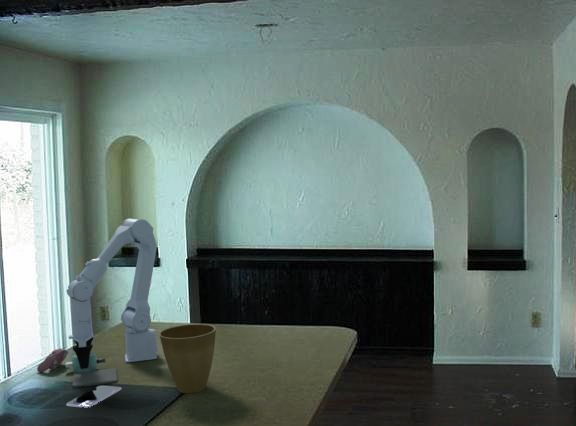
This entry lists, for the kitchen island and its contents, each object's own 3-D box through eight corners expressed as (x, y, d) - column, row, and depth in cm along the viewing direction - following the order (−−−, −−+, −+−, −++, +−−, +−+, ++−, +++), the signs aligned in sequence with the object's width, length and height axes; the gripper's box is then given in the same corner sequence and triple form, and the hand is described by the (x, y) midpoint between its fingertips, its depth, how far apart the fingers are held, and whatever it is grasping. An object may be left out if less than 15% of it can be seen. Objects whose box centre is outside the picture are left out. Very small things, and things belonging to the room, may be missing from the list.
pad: (116, 369, 198) (116, 368, 198) (117, 382, 186) (116, 380, 186) (74, 375, 194) (74, 373, 194) (72, 387, 183) (72, 385, 183)
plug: (105, 365, 203) (104, 351, 202) (105, 369, 199) (104, 354, 198) (66, 370, 200) (65, 355, 199) (65, 374, 196) (64, 359, 195)
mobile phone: (123, 386, 181) (88, 405, 167) (123, 389, 181) (89, 409, 167) (99, 384, 183) (63, 403, 169) (99, 387, 183) (64, 406, 169)
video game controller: (47, 378, 198) (55, 358, 197) (34, 371, 198) (42, 351, 197) (65, 368, 207) (72, 348, 206) (52, 361, 208) (60, 342, 207)
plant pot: (211, 376, 187) (208, 321, 186) (225, 392, 173) (221, 332, 172) (158, 385, 182) (155, 327, 181) (168, 402, 168) (164, 340, 167)
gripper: (68, 316, 204) (71, 359, 205) (66, 327, 190) (69, 373, 191) (92, 314, 206) (95, 357, 207) (91, 324, 192) (95, 370, 193)
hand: (84, 364), depth 199 cm, fingers open, 7 cm apart
